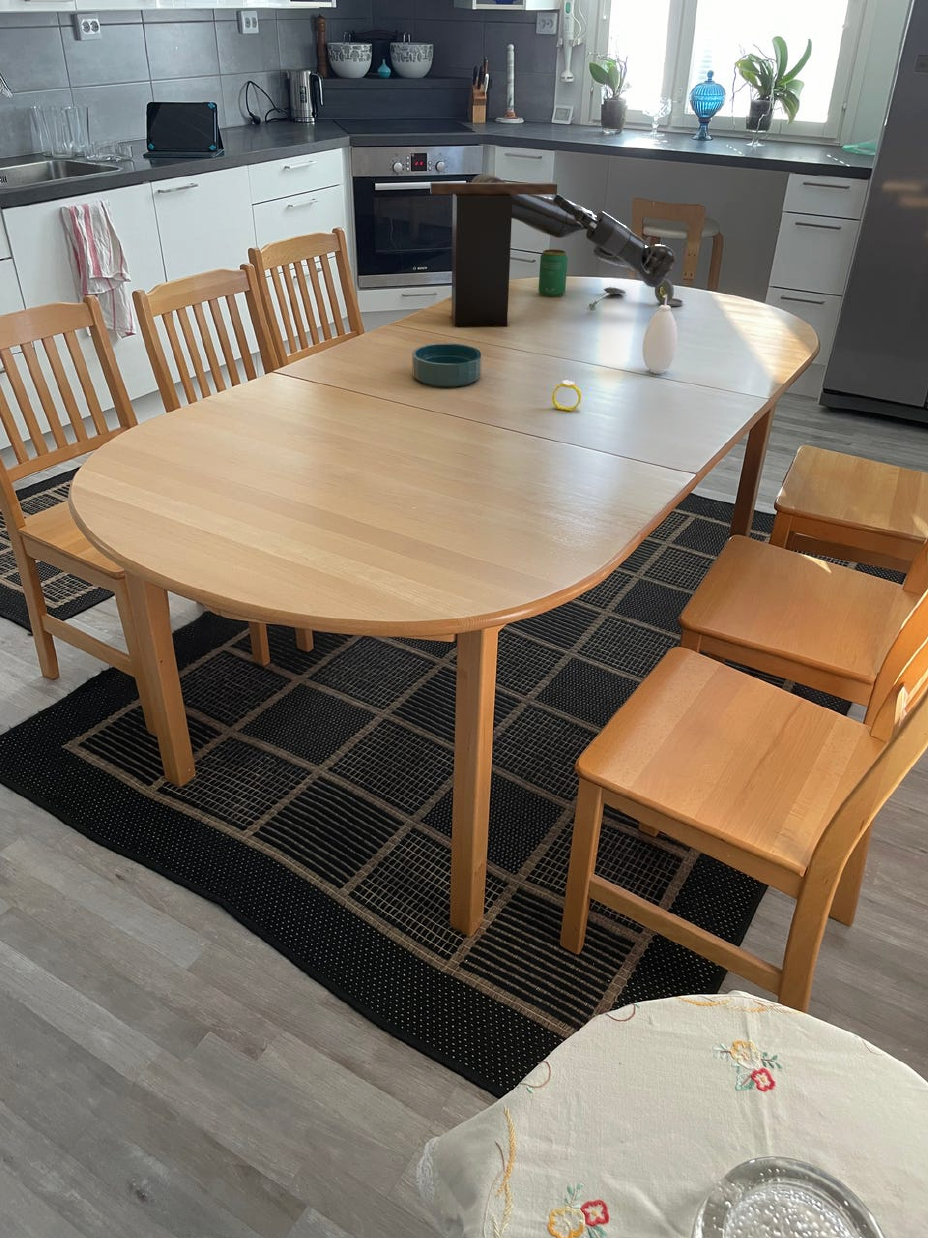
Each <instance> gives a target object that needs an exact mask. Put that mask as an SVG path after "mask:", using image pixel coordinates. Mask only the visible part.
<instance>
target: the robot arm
mask: <svg viewBox="0 0 928 1238" xmlns="http://www.w3.org/2000/svg"><path fill="white" fill-rule="evenodd" d="M470 183H507V182H506V181H504V180H503V179H502V178H500V177H498V176H495V175H493V174H490V173H480V174H477V175H475V177H473V179H472V180H471V182H470ZM510 195H511V196H512V197H513V202H512V220H516V221H519V222H521V223H523V224H525V225H526V226H528V227H530V228H531V229H534V230H535V231H537V232H540V233H542V234H545V235H547V236H550V237H553V238H555V239H556V238H557V239H563V238H567V237H570V236H574V235H576V234H580V233H582V232H586V233H585V236H586V239H587V240H588V241H590V242H592V243H594V246H593V250H592V253H593V256H594V257H595V258H596V259H598V260H599V261H602V262H605V263H606V264H610V265H613V266H617V267H622V268H628V269H630V270H632V271H634V272H635V274H636V275H637V276H638V277H639V279H640V280H641V281H642V282H643V283H644V284H645V286H647V287H650V288H655V287H659V286H660V285H661V284H662V283H663V281H664V280H665V277H666V276H667V275H669V273H670V272H671V270H672V268H673V267H674V265H675V263H676V258H677V257H676V254H675V251H674V250H673V249H672V248H670V247H668V246H666V245H663V244H662V245H661V244H654V245H649V246H647V244H646V241H645V240H644V239H643V238H641V237H640V236H638V235H637V234H636V233H634V232H633V231H632V230H631V229H630V228H629V227H628V226H627V225H624V224H623V223H621V222H619V221H618V220H616V219H615V218H614V217H612V216H611V215H609V214H608V213H606V212H605V211H599V212H598V213H597V214H596V215H595V214H594V213H593V212H592V211H591V210H588V209H587V208H584V207H583V206H581V205H580V204H577V203H576V204H575V203H573V201H572V200H568V199H566V198H565V197H564V196H562V195H560V194H559V193H557V195H555V196H554V197H553V198H551V197H548V196H545V195H541V194H510Z"/></svg>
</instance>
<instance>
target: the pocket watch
mask: <svg viewBox="0 0 928 1238" xmlns="http://www.w3.org/2000/svg"><path fill="white" fill-rule="evenodd" d="M670 275H671V273H670V272H669V273H668V275H667V276H666V277H665V280H664V281H663V283H662V284H661V285H660V286H659V287H654V296H655V299H656V300H657V302H659V304H660V305H664V304H665V298H666V294H667V305H668V306H670V307H679V306H681V305H683V300H681V299H679V298H674V294H675V288H674V284H673V283H672V281H671V280H670V279H668V277H669V276H670Z"/></svg>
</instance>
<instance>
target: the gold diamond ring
mask: <svg viewBox="0 0 928 1238" xmlns="http://www.w3.org/2000/svg"><path fill="white" fill-rule="evenodd" d="M562 387H563V388H568V389H573V390H574V391H576V393H577V396H578V401H577V403H575V405H574V406H572V407H569V406H563V405H560V404H559V403H558V402H557V400H556V396H555V395H556V391H557V390H558V389H559V388H562ZM551 400H552V404H553V406H554V407H555V408H556V409H557V410H561V411H567V412H572V411H574V410H576V409H577V408H578V407H579V405H580V403H581V401H582V393H581V390H580V388H579V387H578V386H577V385H576V382H575V381H573V380H567V379H566V380H562V381H561V383H559V384H557V386H556V387H555V388H554V389H553V392H552V396H551Z"/></svg>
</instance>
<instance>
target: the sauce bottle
mask: <svg viewBox="0 0 928 1238" xmlns="http://www.w3.org/2000/svg"><path fill="white" fill-rule="evenodd" d="M665 297H666V298H665ZM665 297H664V298H665V304H664V305H662V304H660V305H659V307H658V310H656V312H655V313H654V315H652V317H651V319H650V321H649V323H648V325H647V328H646V330H645V332H644V336H643V341H642V348H641V349H642V358H643V362H644V365H645V367H646V368H647V369H648V370H649V372H650V373H652V374H655V375H660V374H662V373H665V370H668V369H670V367H671V366H672V364H673V362H674V360H675V358H676V356H677V351H678V346H679V332H678V327H677V322H676V319H675V316H674V314H673V312H672V311H671V310H672V306H668V305H667V293H666V295H665Z"/></svg>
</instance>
